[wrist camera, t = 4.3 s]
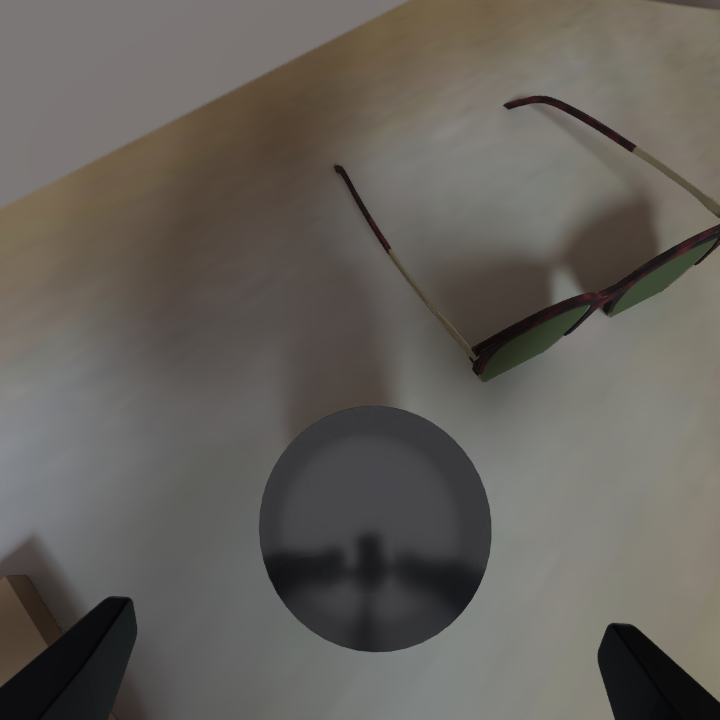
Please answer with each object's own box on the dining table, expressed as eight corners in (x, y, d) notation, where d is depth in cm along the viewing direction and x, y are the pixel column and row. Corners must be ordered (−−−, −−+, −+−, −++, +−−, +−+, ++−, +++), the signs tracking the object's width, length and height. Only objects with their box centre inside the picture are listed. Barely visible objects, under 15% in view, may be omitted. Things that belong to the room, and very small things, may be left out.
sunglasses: (451, 404, 21) (476, 352, 17) (312, 193, 27) (303, 114, 23) (683, 284, 24) (756, 214, 20) (513, 119, 30) (540, 36, 26)
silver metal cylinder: (439, 539, 19) (538, 523, 9) (354, 630, 17) (372, 717, 8) (360, 454, 20) (379, 365, 10) (275, 533, 18) (211, 510, 9)
